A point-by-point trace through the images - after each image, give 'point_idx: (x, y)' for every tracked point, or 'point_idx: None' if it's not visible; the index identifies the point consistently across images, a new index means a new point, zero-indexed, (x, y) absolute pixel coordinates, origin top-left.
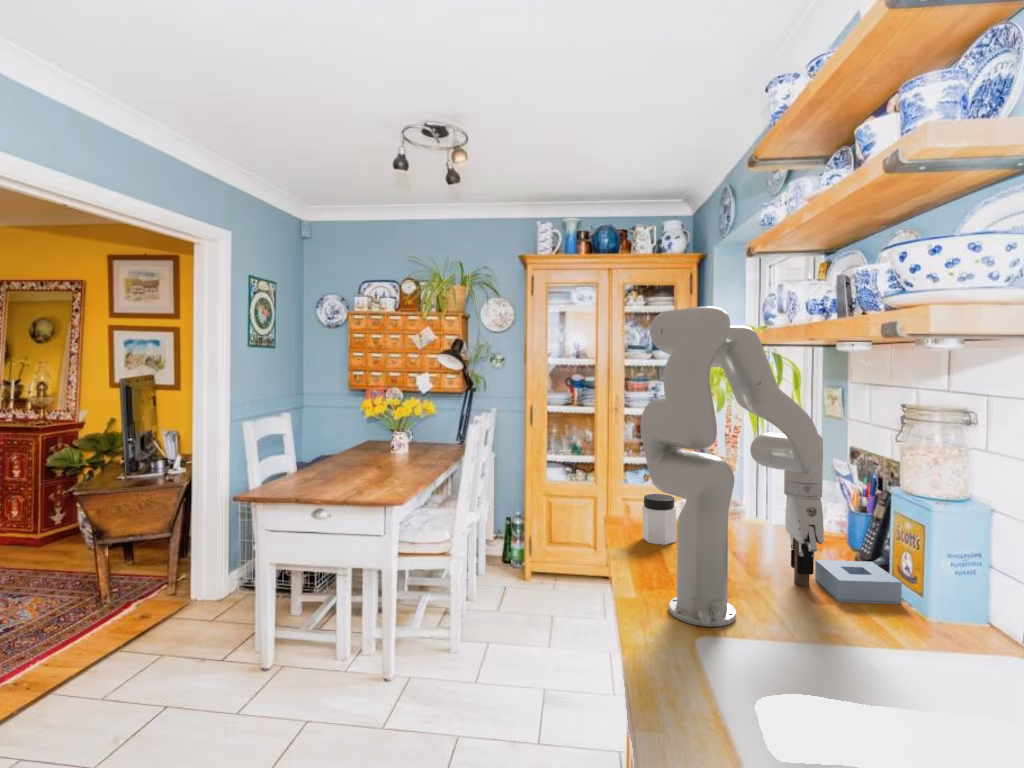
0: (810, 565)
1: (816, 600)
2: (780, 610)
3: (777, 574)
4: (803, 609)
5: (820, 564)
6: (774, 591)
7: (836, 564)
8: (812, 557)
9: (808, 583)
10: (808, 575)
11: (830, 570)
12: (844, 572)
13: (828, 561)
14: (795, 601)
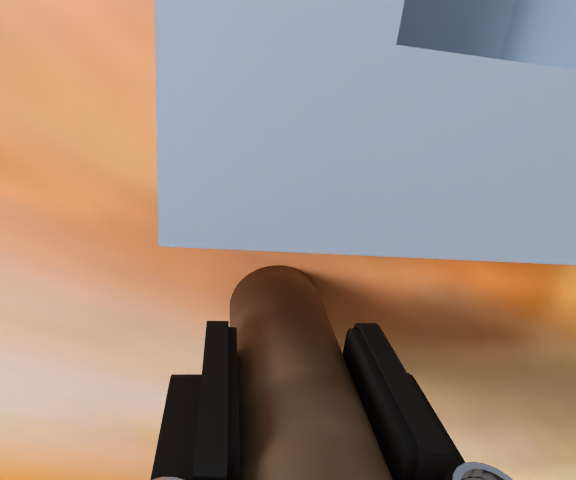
0: (429, 409)
1: (500, 315)
2: (547, 475)
3: (103, 383)
4: (567, 401)
5: (306, 252)
6: None
7: (322, 57)
8: (445, 451)
9: (313, 289)
10: (330, 325)
11: (486, 234)
12: (571, 114)
13: (204, 107)
14: (487, 405)
